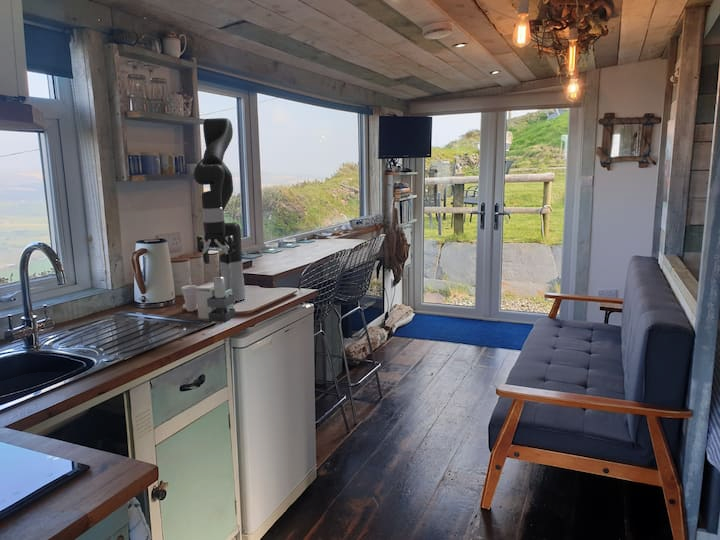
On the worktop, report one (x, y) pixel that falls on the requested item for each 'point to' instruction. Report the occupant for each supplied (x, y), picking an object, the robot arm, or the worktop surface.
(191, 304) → the smoothie
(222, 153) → the robot arm
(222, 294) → the door
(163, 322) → the worktop surface
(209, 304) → the cabinet
